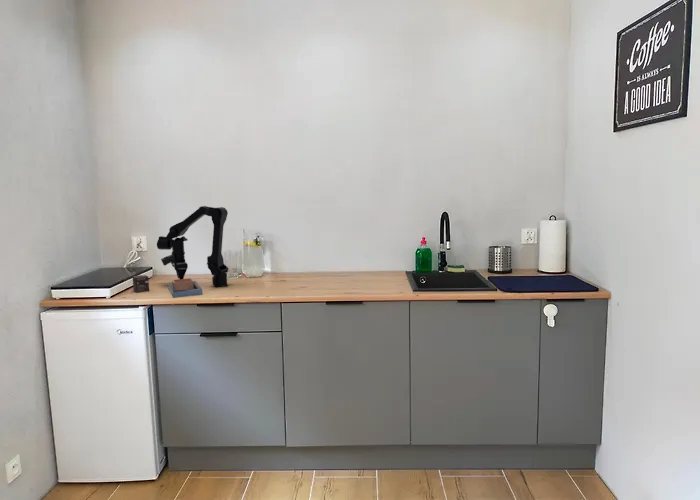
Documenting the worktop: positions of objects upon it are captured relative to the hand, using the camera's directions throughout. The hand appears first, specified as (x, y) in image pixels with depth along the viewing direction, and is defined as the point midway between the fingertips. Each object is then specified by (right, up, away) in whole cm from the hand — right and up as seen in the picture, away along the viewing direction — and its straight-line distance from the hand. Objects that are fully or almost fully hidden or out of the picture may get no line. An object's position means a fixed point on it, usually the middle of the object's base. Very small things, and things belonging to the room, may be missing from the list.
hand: (180, 279), depth 265 cm
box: (-14, -5, -14) cm, 20 cm away
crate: (+5, -4, -11) cm, 12 cm away
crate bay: (+8, -5, -16) cm, 18 cm away
